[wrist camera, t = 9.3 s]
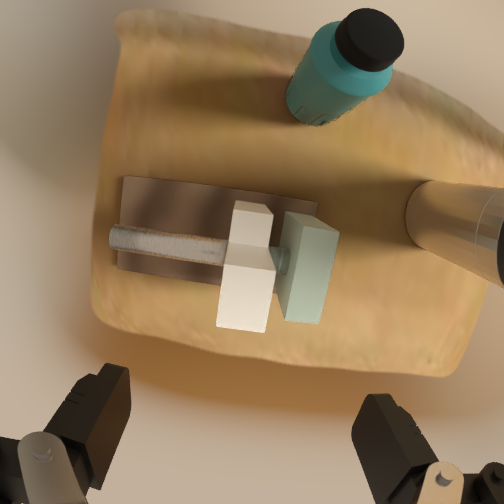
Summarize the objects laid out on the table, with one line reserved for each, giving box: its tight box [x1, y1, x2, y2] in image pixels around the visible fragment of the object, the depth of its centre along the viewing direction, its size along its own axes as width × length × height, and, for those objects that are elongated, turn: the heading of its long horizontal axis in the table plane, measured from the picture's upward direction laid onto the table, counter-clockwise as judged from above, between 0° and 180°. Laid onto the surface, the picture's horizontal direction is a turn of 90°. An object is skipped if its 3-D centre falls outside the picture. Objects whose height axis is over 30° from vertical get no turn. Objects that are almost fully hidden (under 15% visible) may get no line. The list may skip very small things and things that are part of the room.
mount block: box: [274, 211, 340, 324], centre depth 30 cm, size 3×8×10 cm, turn 171°
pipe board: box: [117, 176, 318, 293], centre depth 36 cm, size 22×11×2 cm, turn 81°
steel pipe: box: [109, 224, 290, 275], centre depth 28 cm, size 18×3×3 cm, turn 81°
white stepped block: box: [216, 200, 276, 333], centre depth 26 cm, size 3×9×15 cm, turn 171°
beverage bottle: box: [285, 8, 404, 127], centre depth 23 cm, size 6×7×20 cm
